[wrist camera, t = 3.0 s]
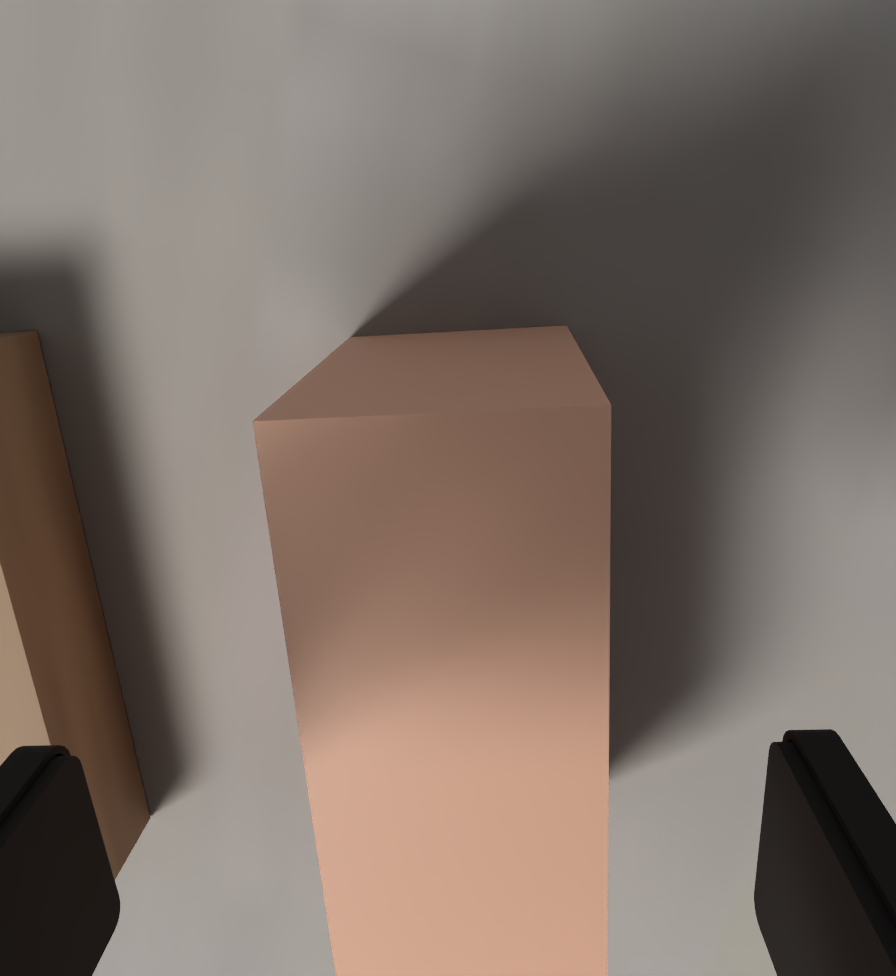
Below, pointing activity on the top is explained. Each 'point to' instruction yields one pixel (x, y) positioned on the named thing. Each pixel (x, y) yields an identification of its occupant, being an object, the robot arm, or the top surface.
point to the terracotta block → (450, 646)
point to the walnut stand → (56, 608)
